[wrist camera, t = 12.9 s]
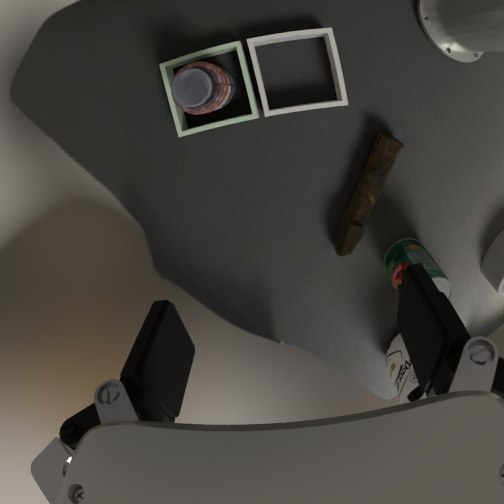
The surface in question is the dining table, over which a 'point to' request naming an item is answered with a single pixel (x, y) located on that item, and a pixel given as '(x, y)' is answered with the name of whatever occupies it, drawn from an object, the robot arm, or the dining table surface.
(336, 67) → the grey bin
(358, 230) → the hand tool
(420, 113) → the dining table surface
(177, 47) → the dining table surface
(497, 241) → the lumpy-topped squat cylinder
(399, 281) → the canned tomato
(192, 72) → the supplement bottle
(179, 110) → the sage bin
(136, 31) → the dining table surface
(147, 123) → the dining table surface
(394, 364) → the milk container
